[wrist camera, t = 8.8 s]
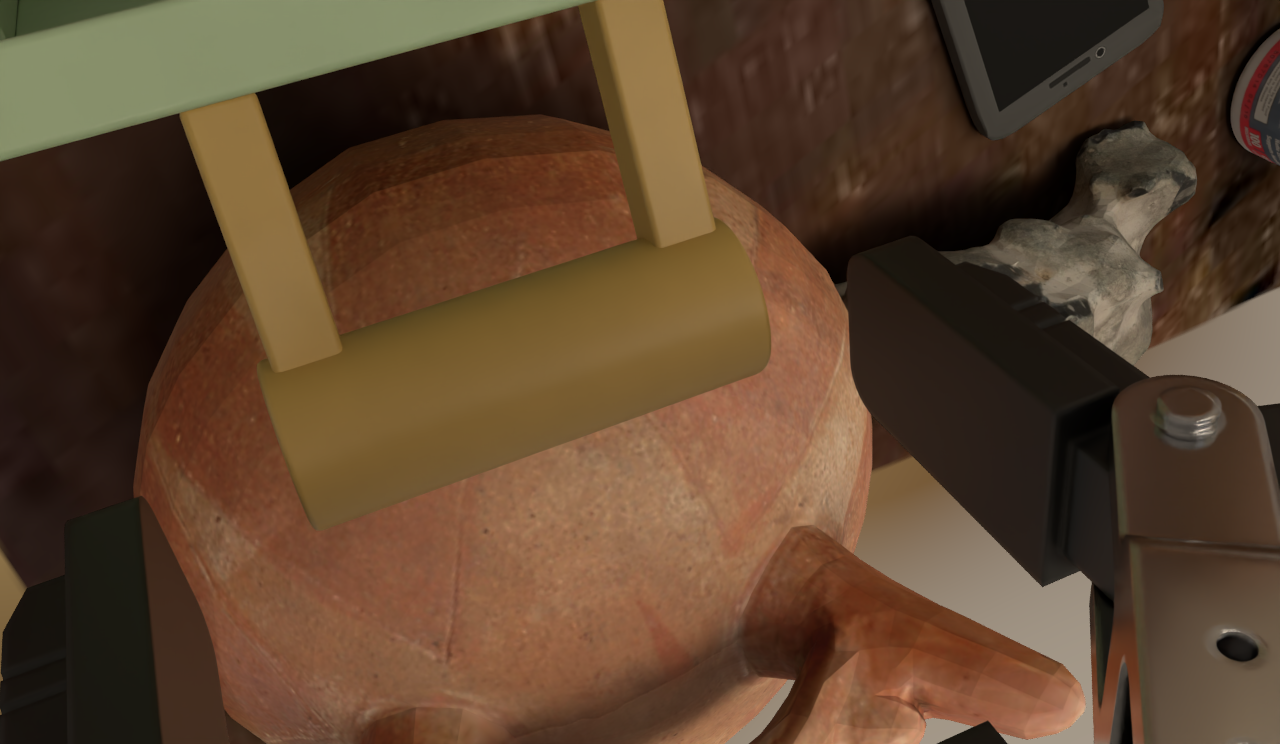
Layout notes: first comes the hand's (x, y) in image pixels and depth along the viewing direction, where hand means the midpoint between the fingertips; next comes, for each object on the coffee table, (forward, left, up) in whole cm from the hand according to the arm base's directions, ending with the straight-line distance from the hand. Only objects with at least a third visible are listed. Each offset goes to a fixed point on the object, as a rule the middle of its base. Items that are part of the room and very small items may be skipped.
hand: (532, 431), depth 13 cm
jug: (+12, +2, -21) cm, 24 cm away
